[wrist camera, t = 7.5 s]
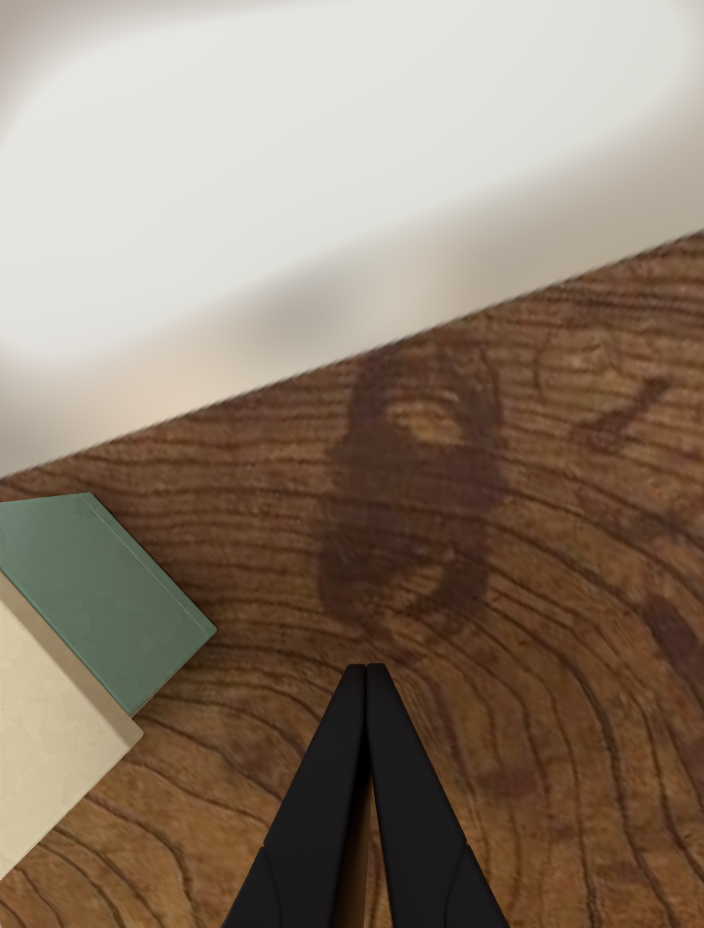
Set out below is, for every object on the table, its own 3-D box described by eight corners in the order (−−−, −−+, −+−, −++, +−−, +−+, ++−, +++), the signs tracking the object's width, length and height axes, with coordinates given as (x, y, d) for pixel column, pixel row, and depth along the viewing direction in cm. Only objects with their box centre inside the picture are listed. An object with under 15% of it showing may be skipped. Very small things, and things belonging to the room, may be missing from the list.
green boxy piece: (218, 629, 18) (129, 714, 12) (99, 751, 19) (-36, 883, 13) (90, 491, 18) (-52, 507, 13) (-18, 616, 19) (-194, 684, 14)
